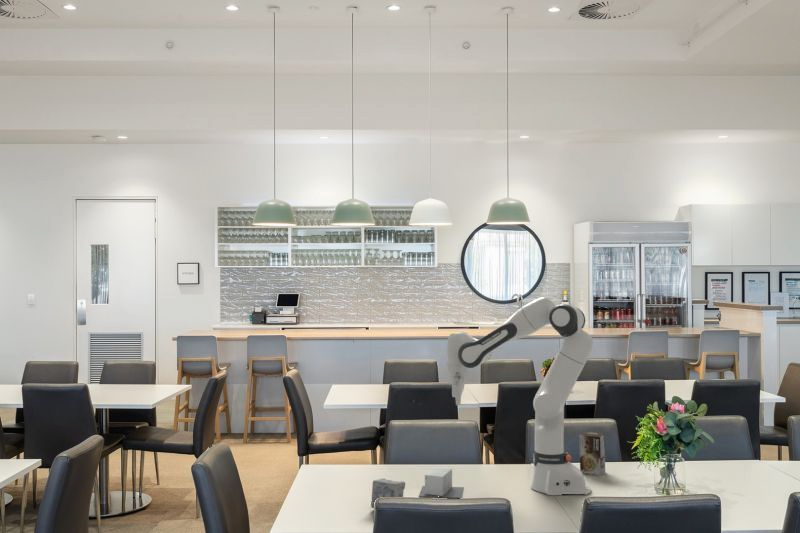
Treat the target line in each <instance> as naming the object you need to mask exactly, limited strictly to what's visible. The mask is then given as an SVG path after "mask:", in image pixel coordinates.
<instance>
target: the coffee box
mask: <svg viewBox="0 0 800 533" xmlns="http://www.w3.org/2000/svg"><path fill="white" fill-rule="evenodd" d="M578 437H579V439H578V440H579V470H580V471H581V472H582V473H583V474H585V473H589V474H588V475H592V474H595V475H594V476H603V475H604V474H605V473H606V445H605V444H606V441H605V440H606V439H605V433H601V432H600V433H599V432H591V431H590V432H589V431H583V432H581V433H580V434H579V435H578Z"/></svg>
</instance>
